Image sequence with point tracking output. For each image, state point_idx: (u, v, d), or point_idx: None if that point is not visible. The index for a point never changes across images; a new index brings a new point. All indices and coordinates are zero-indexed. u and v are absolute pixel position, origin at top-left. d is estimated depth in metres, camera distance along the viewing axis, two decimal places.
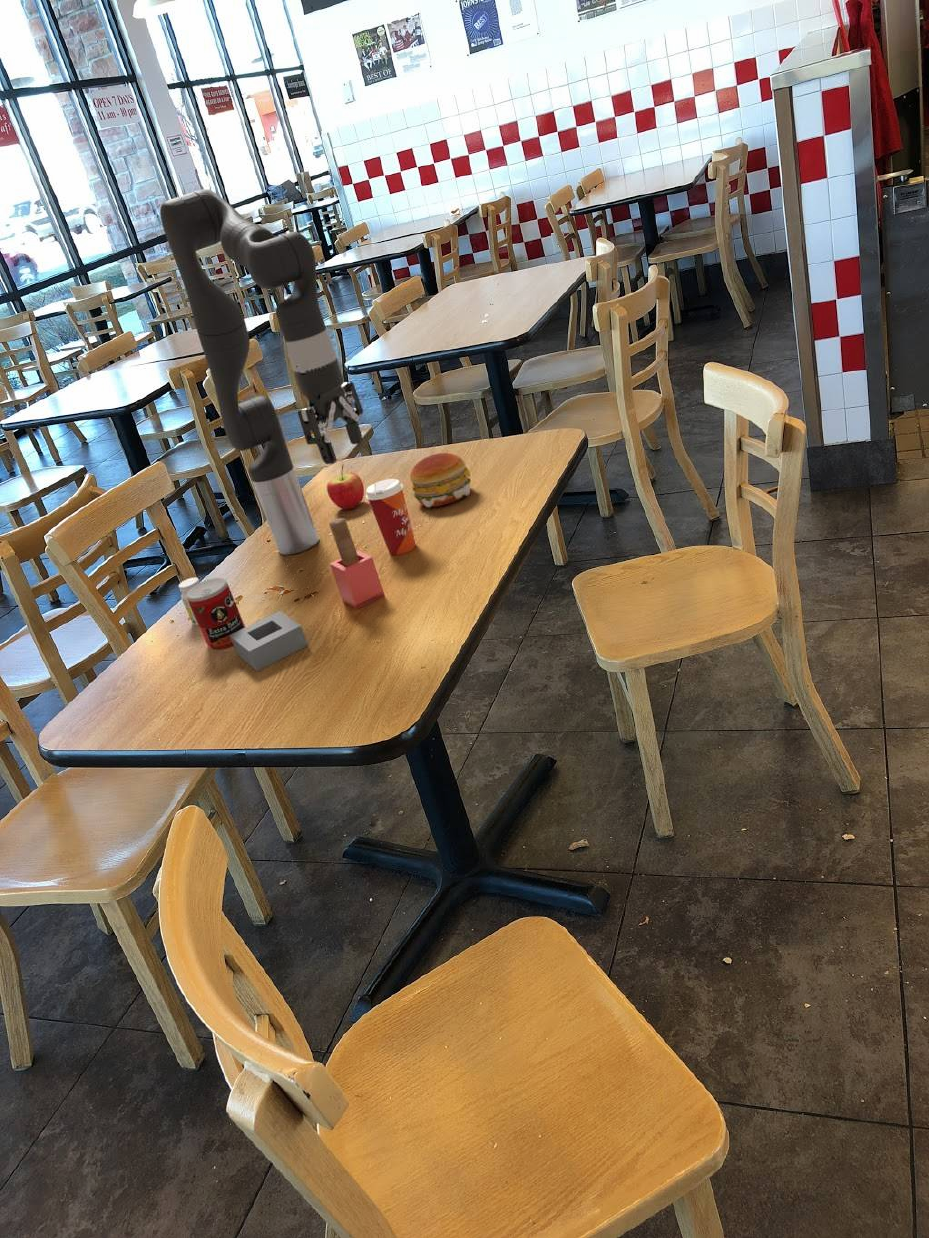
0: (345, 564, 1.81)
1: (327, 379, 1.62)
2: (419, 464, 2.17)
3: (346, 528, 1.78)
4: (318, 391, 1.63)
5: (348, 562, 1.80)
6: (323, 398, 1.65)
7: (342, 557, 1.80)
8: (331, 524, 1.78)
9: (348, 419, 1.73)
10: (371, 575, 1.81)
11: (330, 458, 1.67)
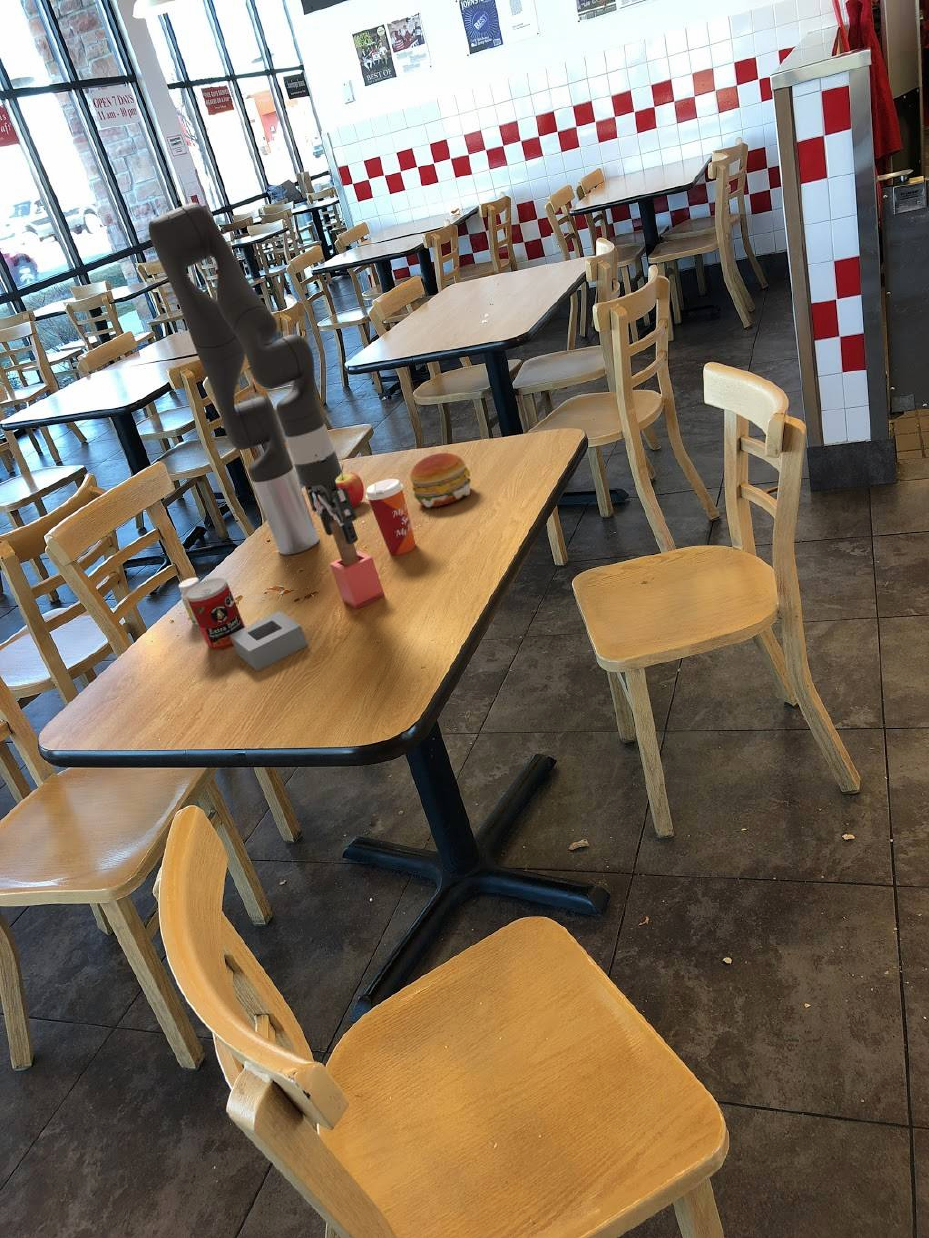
0: (345, 564, 1.81)
1: (338, 463, 1.73)
2: (419, 464, 2.17)
3: None
4: (336, 474, 1.72)
5: (348, 562, 1.80)
6: None
7: (342, 557, 1.80)
8: (331, 524, 1.78)
9: (324, 511, 1.81)
10: (371, 575, 1.81)
11: None
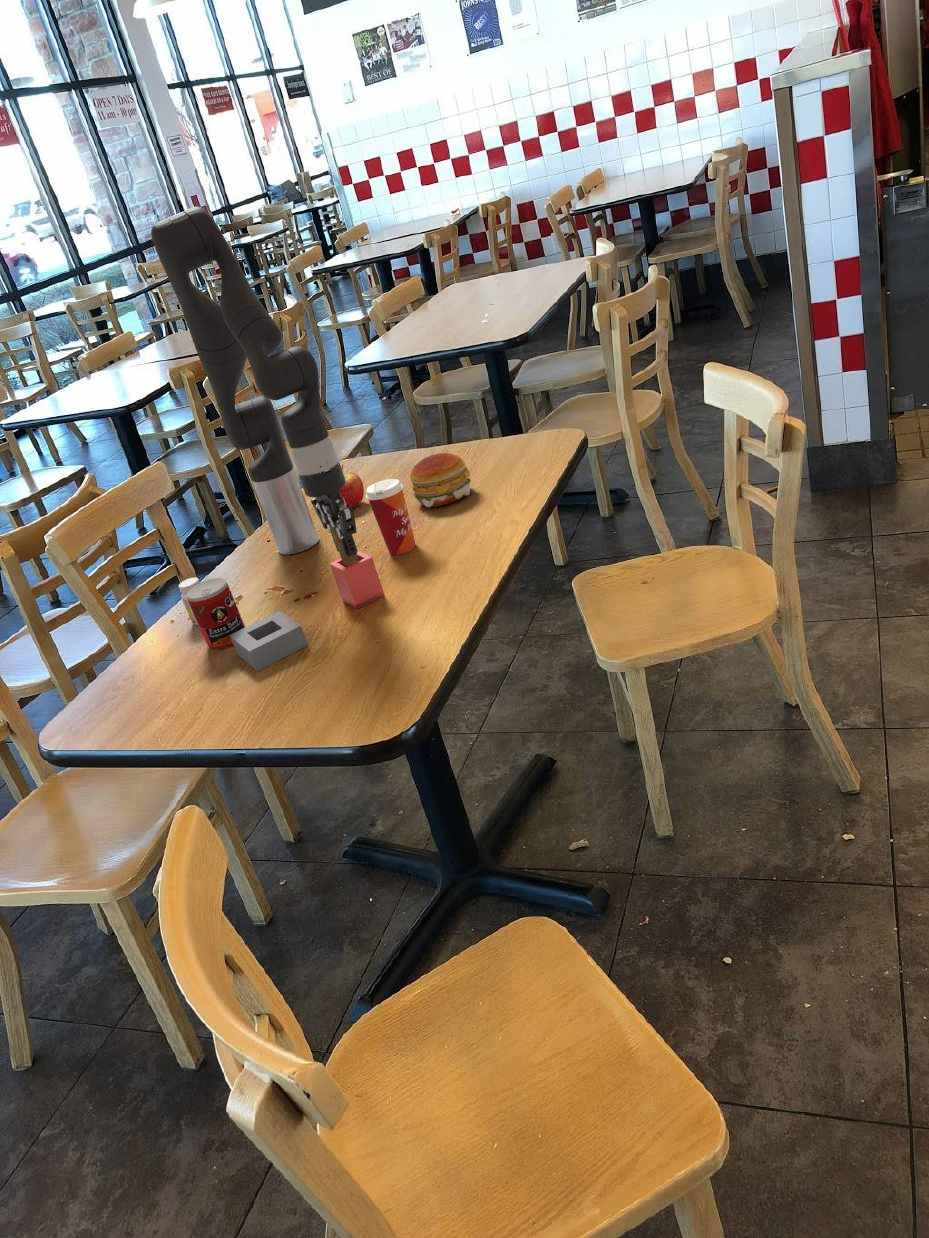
0: (345, 564, 1.81)
1: (342, 473, 1.74)
2: (419, 464, 2.17)
3: (346, 528, 1.78)
4: (340, 485, 1.73)
5: (348, 562, 1.80)
6: None
7: (342, 557, 1.80)
8: None
9: None
10: (371, 575, 1.81)
11: None
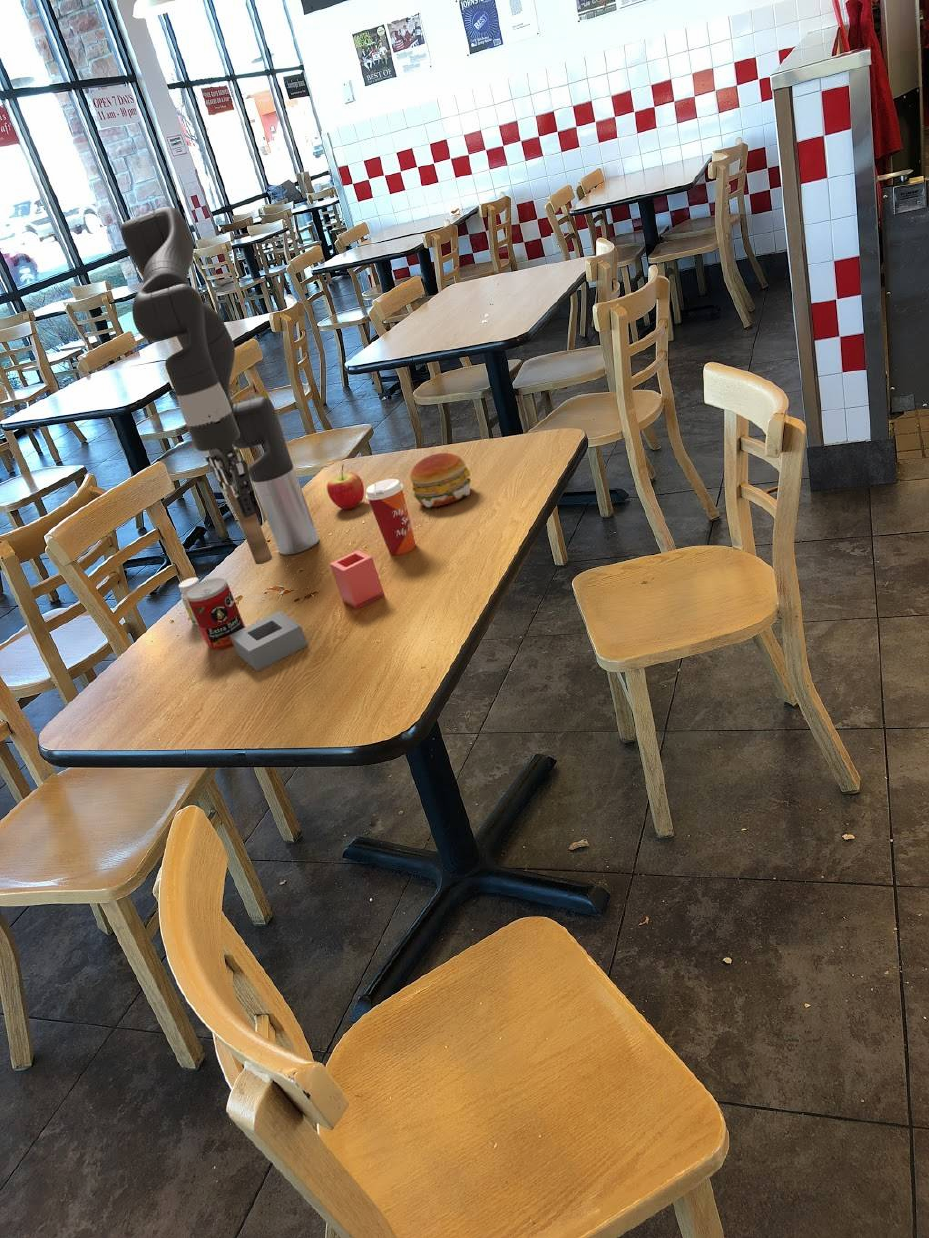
0: (243, 526, 1.66)
1: (235, 425, 1.60)
2: (419, 464, 2.17)
3: None
4: (233, 438, 1.59)
5: (246, 524, 1.66)
6: None
7: (239, 518, 1.66)
8: None
9: None
10: (371, 575, 1.81)
11: (252, 508, 1.64)
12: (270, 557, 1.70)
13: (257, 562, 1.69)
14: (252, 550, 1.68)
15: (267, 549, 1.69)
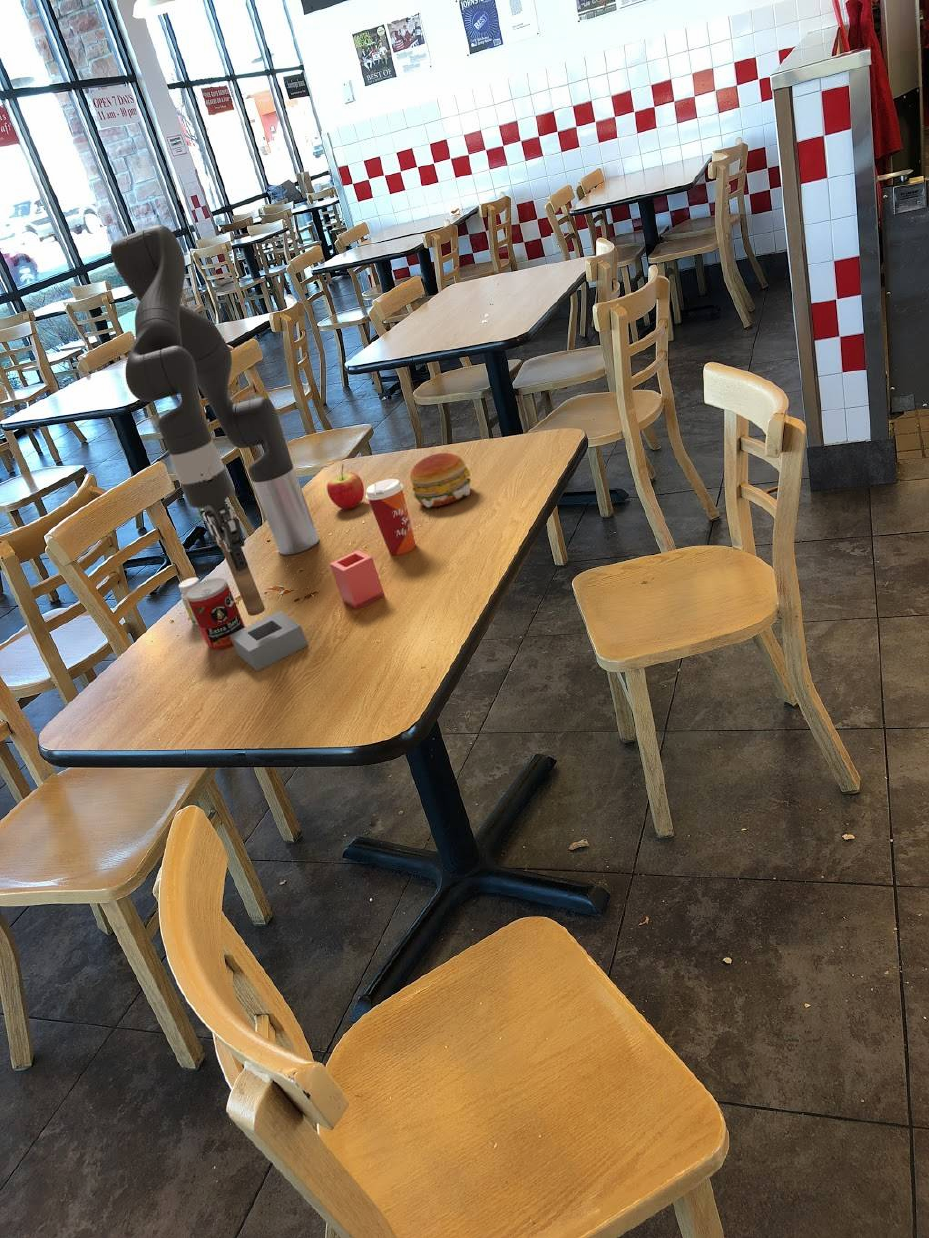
0: (235, 579, 1.68)
1: (228, 482, 1.61)
2: (419, 464, 2.17)
3: None
4: (225, 495, 1.60)
5: (238, 577, 1.68)
6: None
7: (232, 571, 1.68)
8: None
9: None
10: (371, 575, 1.81)
11: None
12: (263, 608, 1.72)
13: (250, 613, 1.71)
14: (245, 602, 1.70)
15: (260, 601, 1.71)
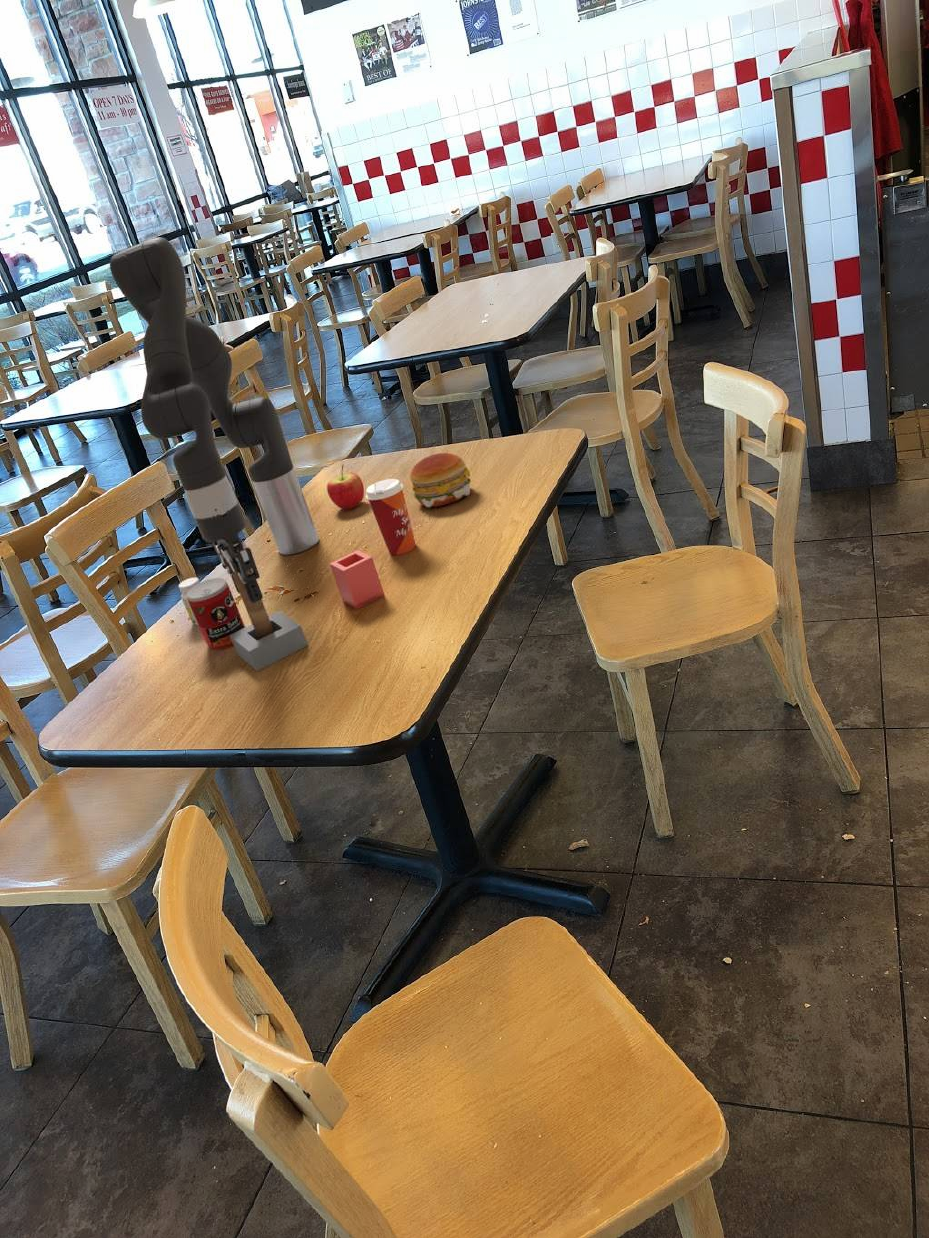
0: (250, 614, 1.71)
1: (241, 516, 1.64)
2: (419, 464, 2.17)
3: None
4: (239, 528, 1.63)
5: (252, 613, 1.71)
6: None
7: (246, 607, 1.71)
8: (233, 573, 1.69)
9: None
10: (371, 575, 1.81)
11: (260, 594, 1.68)
12: None
13: None
14: (259, 637, 1.73)
15: None
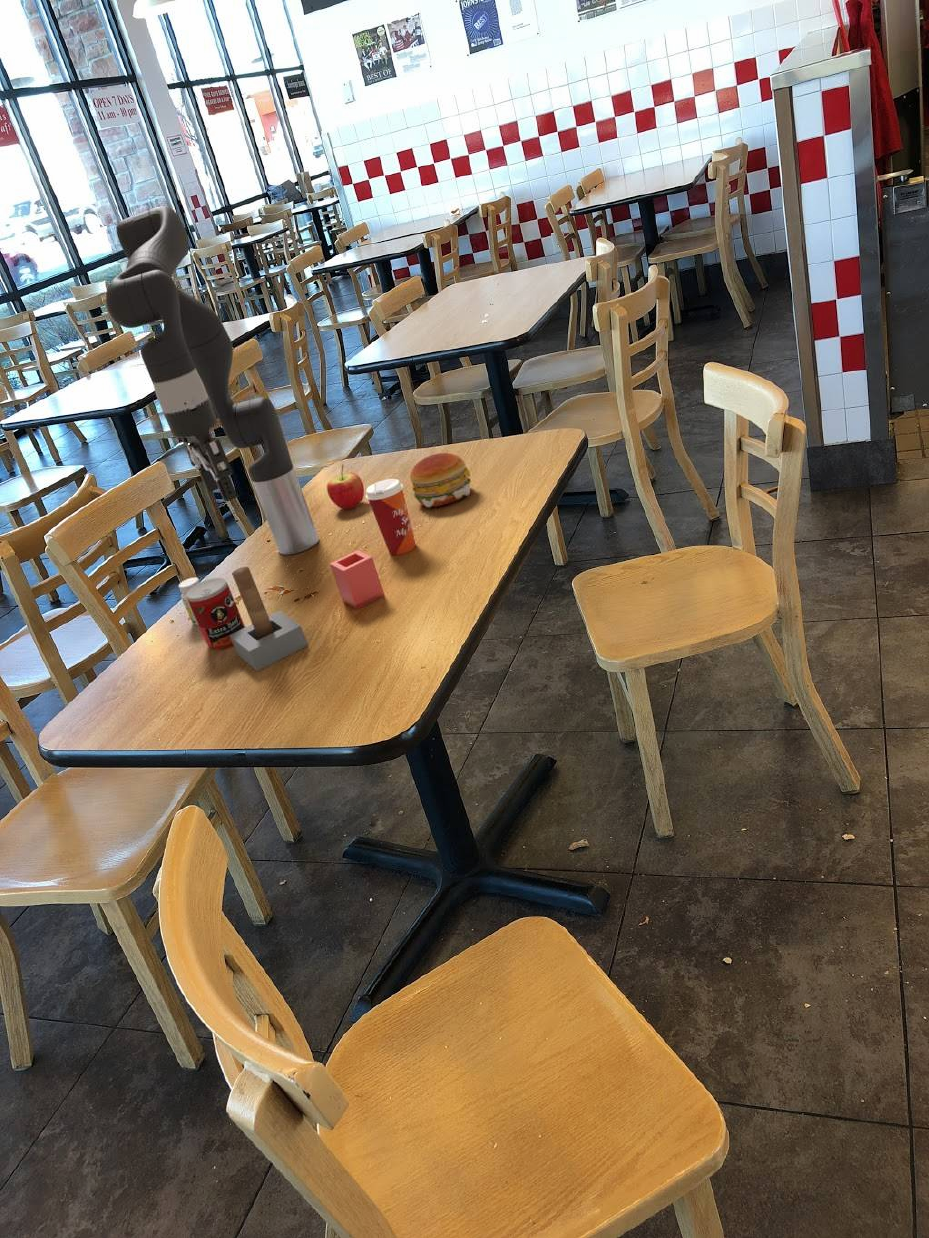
0: (250, 615, 1.71)
1: (212, 412, 1.59)
2: (419, 464, 2.17)
3: (250, 578, 1.69)
4: (210, 425, 1.58)
5: (253, 613, 1.71)
6: None
7: (247, 607, 1.71)
8: (233, 573, 1.68)
9: (203, 465, 1.67)
10: (371, 575, 1.81)
11: (233, 492, 1.62)
12: None
13: None
14: (259, 637, 1.73)
15: None
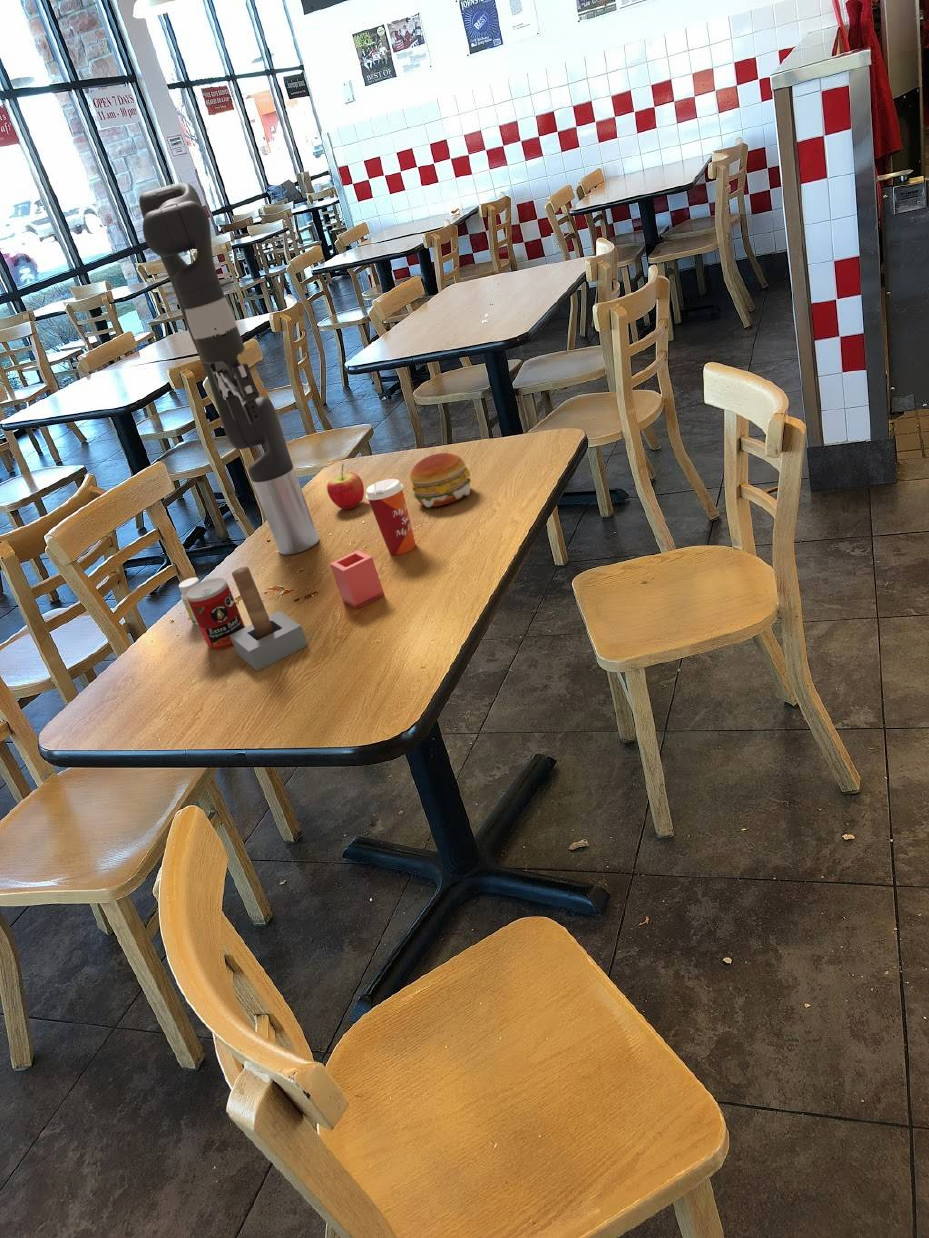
0: (250, 615, 1.71)
1: (240, 339, 1.68)
2: (419, 464, 2.17)
3: (249, 578, 1.69)
4: (238, 351, 1.67)
5: (253, 613, 1.71)
6: None
7: (246, 607, 1.71)
8: (233, 574, 1.68)
9: (230, 394, 1.76)
10: (371, 575, 1.81)
11: (259, 416, 1.71)
12: None
13: None
14: (259, 637, 1.73)
15: None
